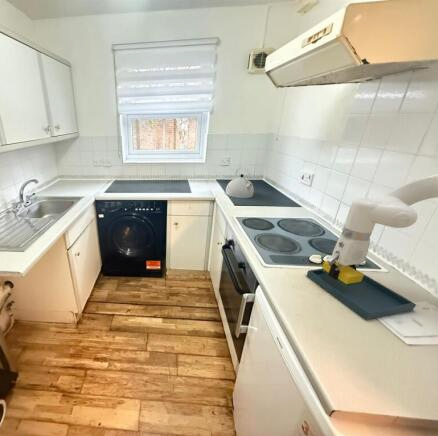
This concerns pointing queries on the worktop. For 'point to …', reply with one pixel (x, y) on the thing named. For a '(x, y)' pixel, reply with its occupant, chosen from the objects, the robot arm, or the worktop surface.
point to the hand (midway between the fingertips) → (340, 275)
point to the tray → (364, 296)
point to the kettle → (240, 187)
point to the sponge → (345, 274)
